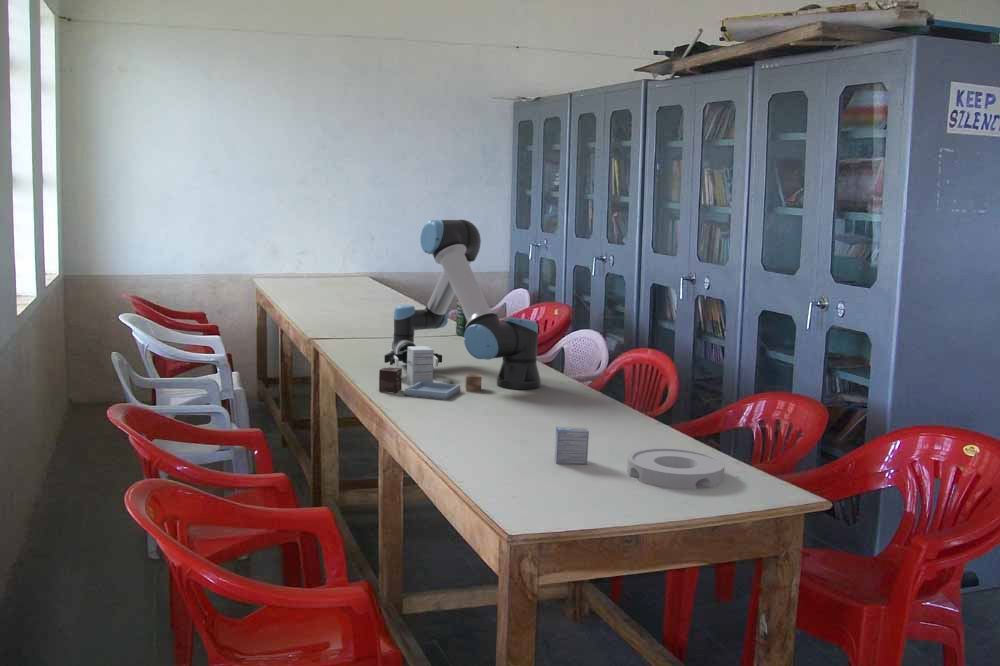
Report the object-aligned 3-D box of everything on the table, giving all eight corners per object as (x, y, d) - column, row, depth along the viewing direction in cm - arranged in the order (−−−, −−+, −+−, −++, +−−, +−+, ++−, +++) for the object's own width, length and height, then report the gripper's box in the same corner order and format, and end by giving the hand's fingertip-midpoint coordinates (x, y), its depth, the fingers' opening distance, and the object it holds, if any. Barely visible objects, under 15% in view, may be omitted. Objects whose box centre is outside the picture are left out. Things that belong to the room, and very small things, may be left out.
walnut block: (480, 388, 333) (480, 374, 332) (481, 391, 328) (481, 376, 327) (465, 388, 332) (465, 373, 331) (466, 391, 327) (466, 376, 326)
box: (396, 393, 319) (396, 371, 318) (378, 392, 320) (378, 369, 319) (401, 390, 325) (402, 368, 324) (384, 388, 326) (384, 366, 325)
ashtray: (714, 496, 225) (716, 479, 225) (616, 482, 234) (617, 465, 233) (730, 471, 247) (731, 455, 246) (639, 458, 255) (640, 443, 254)
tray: (460, 391, 326) (460, 385, 326) (446, 400, 312) (446, 393, 312) (419, 387, 329) (420, 381, 329) (404, 395, 316) (405, 389, 316)
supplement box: (406, 382, 337) (406, 346, 335) (426, 382, 339) (427, 345, 338) (411, 387, 330) (412, 349, 328) (433, 386, 333) (434, 349, 331)
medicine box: (585, 460, 250) (587, 426, 249) (587, 465, 246) (589, 431, 244) (554, 459, 250) (555, 425, 248) (555, 464, 245) (557, 430, 244)
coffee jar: (453, 334, 449) (454, 293, 446) (469, 333, 453) (470, 293, 450) (462, 337, 441) (463, 295, 438) (478, 336, 444) (479, 295, 441)
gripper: (441, 362, 361) (452, 373, 340) (372, 362, 354) (380, 374, 334) (441, 341, 360) (453, 351, 339) (373, 341, 353) (380, 352, 333)
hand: (417, 362), depth 337 cm, fingers open, 13 cm apart
